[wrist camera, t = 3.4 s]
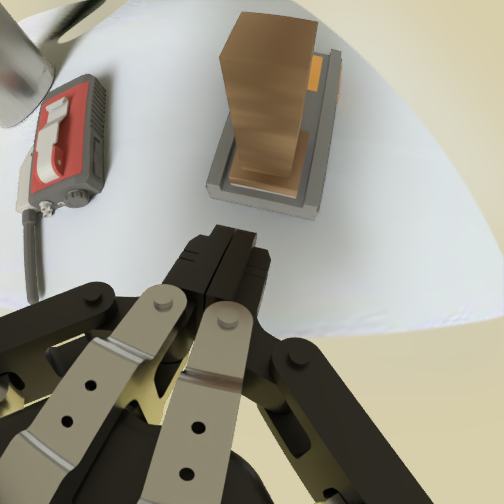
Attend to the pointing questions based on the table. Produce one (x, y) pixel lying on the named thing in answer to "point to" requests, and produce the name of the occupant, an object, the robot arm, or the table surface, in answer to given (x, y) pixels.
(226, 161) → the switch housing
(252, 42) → the brown wooden block
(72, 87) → the walkie-talkie
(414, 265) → the table surface
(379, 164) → the table surface
